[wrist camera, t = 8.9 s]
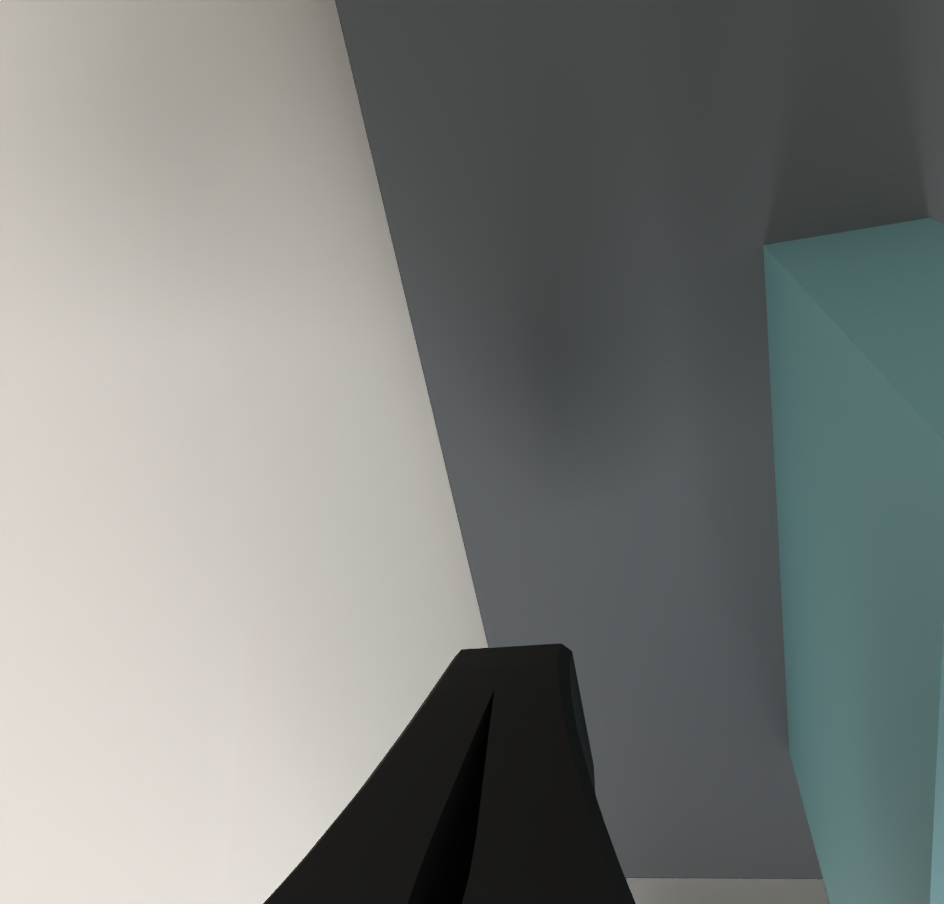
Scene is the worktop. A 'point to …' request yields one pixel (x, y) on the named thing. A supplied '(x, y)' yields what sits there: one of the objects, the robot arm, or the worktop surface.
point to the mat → (638, 346)
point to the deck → (863, 548)
